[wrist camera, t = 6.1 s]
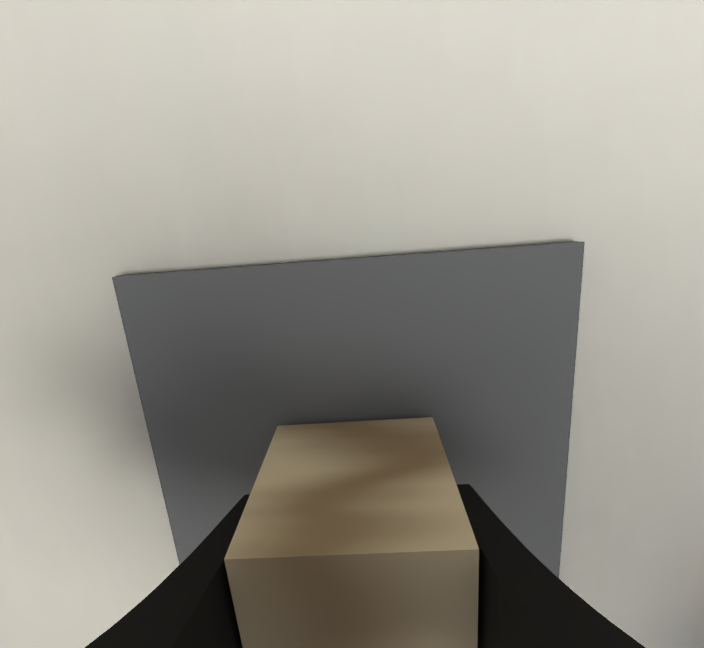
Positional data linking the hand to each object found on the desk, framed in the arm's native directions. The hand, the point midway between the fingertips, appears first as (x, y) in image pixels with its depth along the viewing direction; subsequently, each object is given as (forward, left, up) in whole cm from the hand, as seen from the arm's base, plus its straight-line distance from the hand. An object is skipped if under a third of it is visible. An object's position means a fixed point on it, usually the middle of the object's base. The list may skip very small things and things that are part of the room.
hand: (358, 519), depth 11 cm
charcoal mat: (0, 0, -3) cm, 3 cm away
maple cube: (0, +1, -2) cm, 2 cm away
